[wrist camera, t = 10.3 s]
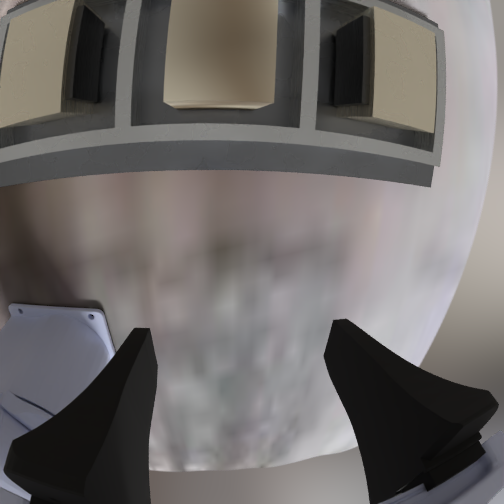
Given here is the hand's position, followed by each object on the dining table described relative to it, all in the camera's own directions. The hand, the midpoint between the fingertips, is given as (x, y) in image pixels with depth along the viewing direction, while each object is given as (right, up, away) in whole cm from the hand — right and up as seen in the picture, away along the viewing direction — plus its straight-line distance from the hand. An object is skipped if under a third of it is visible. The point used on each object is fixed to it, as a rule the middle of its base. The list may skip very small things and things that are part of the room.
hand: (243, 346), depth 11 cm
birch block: (-1, +14, +2) cm, 14 cm away
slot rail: (-2, +14, +3) cm, 15 cm away
